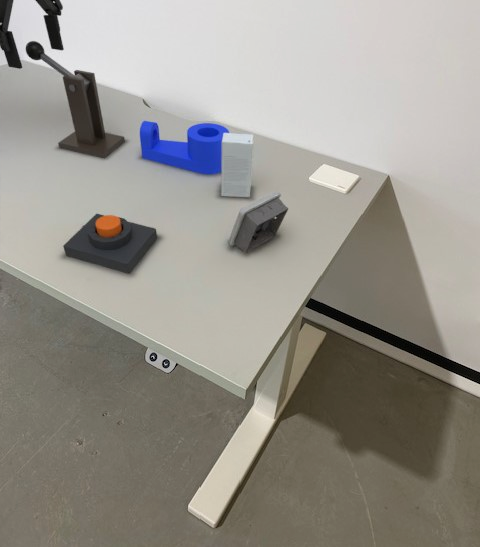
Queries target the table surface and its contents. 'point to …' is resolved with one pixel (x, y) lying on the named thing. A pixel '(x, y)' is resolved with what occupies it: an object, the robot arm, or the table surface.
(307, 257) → the table surface
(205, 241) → the table surface
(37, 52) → the lever
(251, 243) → the electrical switch
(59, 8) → the robot arm
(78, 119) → the bracket
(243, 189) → the cosmetic box
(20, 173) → the table surface
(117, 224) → the button
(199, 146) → the bracket
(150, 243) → the button box
